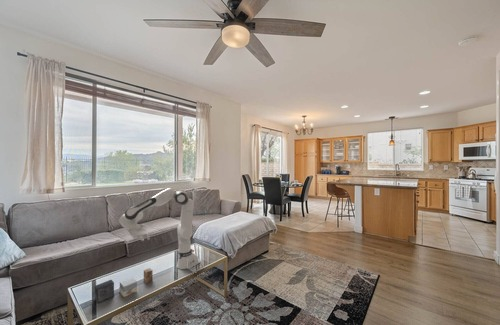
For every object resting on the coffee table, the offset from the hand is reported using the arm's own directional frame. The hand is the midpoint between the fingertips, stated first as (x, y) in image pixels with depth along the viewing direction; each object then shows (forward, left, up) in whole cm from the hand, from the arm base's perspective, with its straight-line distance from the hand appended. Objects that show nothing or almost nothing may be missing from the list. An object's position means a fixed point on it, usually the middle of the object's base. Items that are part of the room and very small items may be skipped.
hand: (146, 239), depth 174 cm
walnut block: (0, +4, -33) cm, 34 cm away
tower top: (+16, +7, -30) cm, 35 cm away
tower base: (+16, +7, -34) cm, 38 cm away
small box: (+30, +2, -34) cm, 45 cm away
